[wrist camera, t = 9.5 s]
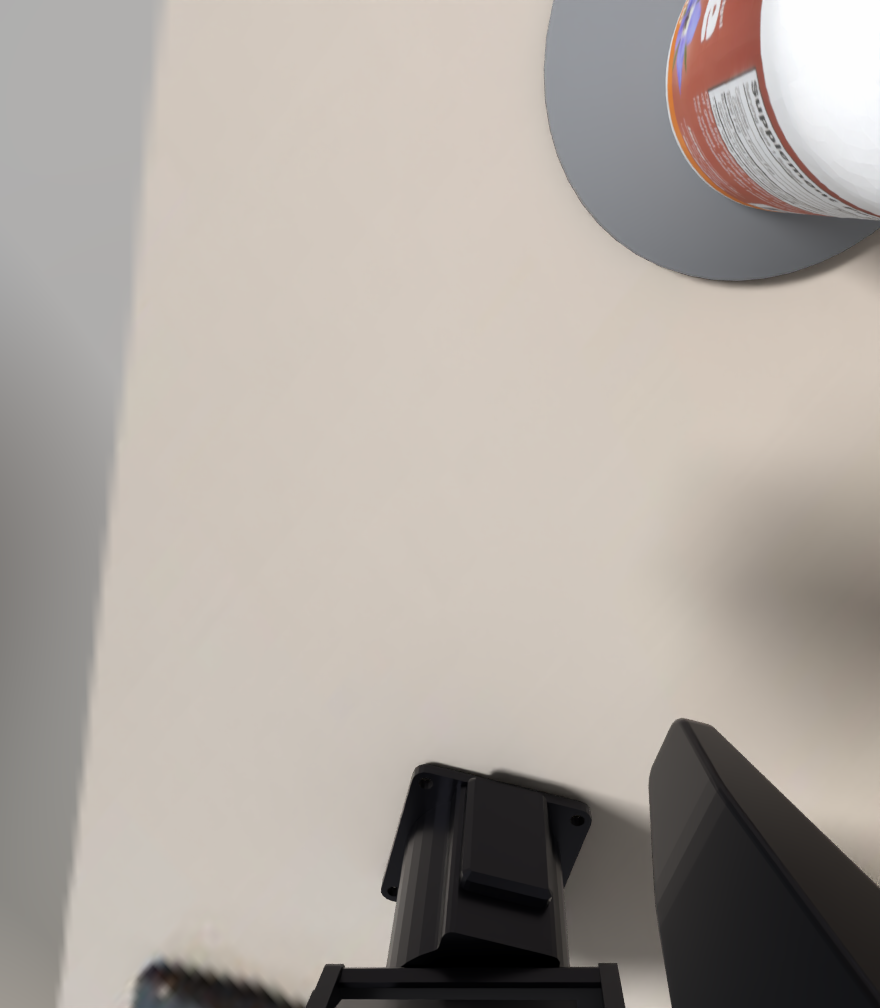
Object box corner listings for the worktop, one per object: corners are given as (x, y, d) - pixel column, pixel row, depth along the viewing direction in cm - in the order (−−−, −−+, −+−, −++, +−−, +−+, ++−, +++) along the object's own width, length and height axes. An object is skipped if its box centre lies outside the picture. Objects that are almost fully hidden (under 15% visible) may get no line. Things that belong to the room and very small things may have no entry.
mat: (865, 319, 19) (875, 323, 19) (497, 226, 19) (497, 227, 19) (1078, -150, 15) (1099, -164, 15) (620, -270, 15) (624, -288, 15)
